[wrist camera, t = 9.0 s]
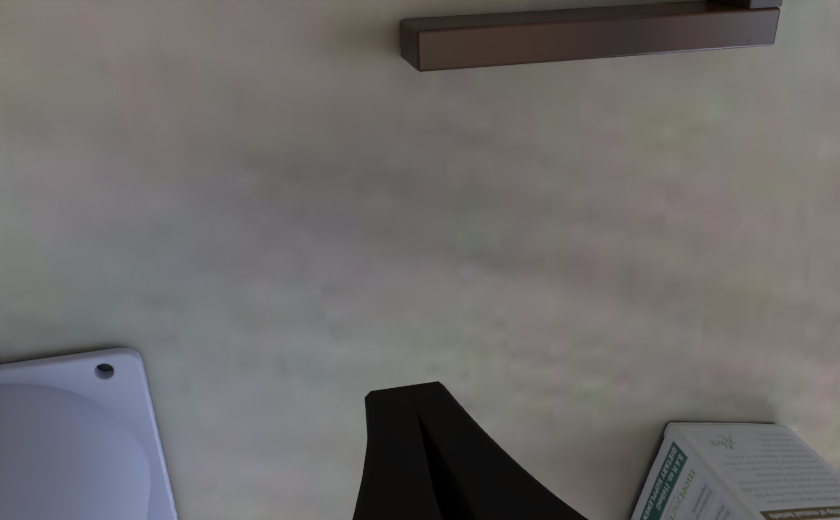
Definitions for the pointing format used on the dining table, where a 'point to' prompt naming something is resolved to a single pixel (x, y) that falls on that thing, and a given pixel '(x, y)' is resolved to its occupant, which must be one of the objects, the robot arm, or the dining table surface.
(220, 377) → the dining table surface
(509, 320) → the dining table surface
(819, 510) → the syrup box
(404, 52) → the frame
